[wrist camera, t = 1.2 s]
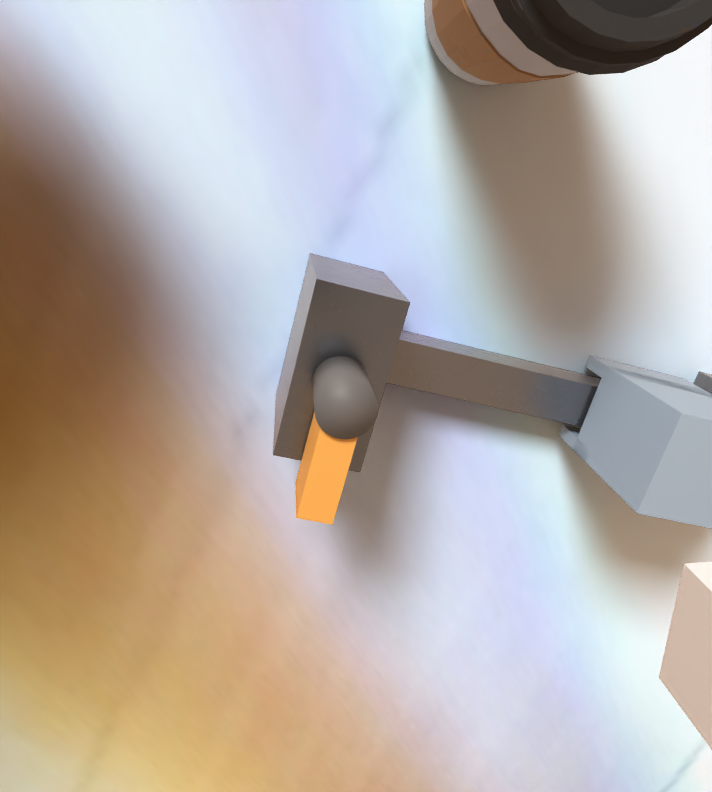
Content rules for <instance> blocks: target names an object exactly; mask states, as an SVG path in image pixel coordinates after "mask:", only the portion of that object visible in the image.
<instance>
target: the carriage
mask: <svg viewBox="0 0 712 792" xmlns="http://www.w3.org/2000/svg"><path fill="white" fill-rule="evenodd" d="M586 368H588V369H589V370H591V371H592V372H594V373H595V374H597V375H598V376H600V377H601V381H600V383H599V386H598V388H597V391H596V393H595V396H594V398H593V400H592V403H591V405H590V408H589V410H588V413H587V415H586V418H585V420H584V423H583V425H582V428H576V427H572V426H567V425H562V428H561V430H560V433H559V436H560V437H561V438H562V439H563V440H564V441H565V442H566V443H567V444H568V445H569V446H570V447H571V448H572V449H573V450H574V451H575V452H576V453H577V454H578V455H579V456H580V457H581V458H582V459H583V460H584V461H585V462H586V463H587V464H588V465H589V466H590V467H591V468H592V469H593V470H594V471H595V472H596V473H597V474H598V475H599V476H600V477H601V478H602V479H603V480H604V481H605V482H606V483H607V484H608V485H609V486H610V487H611V488H612V489H613V490H614V491H615V492H616V493H617V494H618V495H619V496H620V497H621V498H622V499H623V500H624V501H625V502H626V503H627V504H628V505H629V506H630V507H631V508H632V509H633V510H634V511H635V512H636V513H637V514H642V515H647V516H652V517H657V518H662V519H667V520H672V521H677V522H681V523H686V524H691V525H696V526H701V527H706V528H711V529H712V394H711V393H709V392H707V391H705V390H703V389H701V388H700V387H698V386H696V385H694V384H692V383H690V382H688V381H687V380H685V379H683V378H679V377H675V376H671V375H667V374H663V373H659V372H655V371H651V370H647V369H643V368H639V367H635V366H631V365H627V364H623V363H619V362H615V361H611V360H607V359H603V358H599V357H595V356H591V355H590V357H589V359H588V362H587V364H586Z"/></svg>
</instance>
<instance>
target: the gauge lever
mask: <svg viewBox="0 0 712 792" xmlns="http://www.w3.org/2000/svg"><path fill="white" fill-rule="evenodd" d="M312 393H313V402H314V415H313V419H312V422H311V426H310V430H309V434H308V438H307V441H306V445H305V449H304V453H303V457H302V460H301V464H300V468H299V472H298V476H297V480H296V518H300V519H305V520H310V521H316V522H321V523H327V524H333V521H334V518H335V514H336V511H337V507H338V504H339V500H340V497H341V493H342V490H343V486H344V483H345V480H346V476H347V473H348V469H349V466H350V462H351V459H352V455H353V452H354V448H355V445H356V441H357V438H358V437H359V436H361V435H363V434H364V433H366V432H367V431H368V430H369V429H370V428H371V427H372V426H373V424H374V422H375V420H376V418H377V414H378V404H377V400H376V397H375V395H374V392H373V389H372V387H371V384H370V381H369V379H368V376H367V373H366V371H365V369H364V368H363V366H362V365H361V364H360V363H359V362H357V361H356V360H354V359H352V358H350V357H346V356H335V357H331V358H329V359H327V360H325V361H323V362H322V363H321V364H320V365H319V366H318V367H317V368H316V370H315V372H314V374H313V377H312Z"/></svg>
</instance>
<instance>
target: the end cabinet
mask: <svg viewBox="0 0 712 792" xmlns="http://www.w3.org/2000/svg"><path fill="white" fill-rule="evenodd" d="M409 305H410V302H409V301H408V299H407V298H406V297H405V296H404V295H403V294H402V293H401V292H400V290H399V289H398V288H397V287H396V286H395V285H394V284H393V283H392V281H391V280H390V279H389V278H388V277H387V276H386V275H385V274H384V272H381V271H377V270H373V269H369V268H365V267H361V266H357V265H354V264H350V263H346V262H342V261H338V260H334V259H330V258H327V257H323V256H319V255H315V254H311V253H310V255H309V260H308V264H307V268H306V272H305V276H304V280H303V285H302V289H301V293H300V297H299V301H298V305H297V309H296V314H295V318H294V322H293V326H292V330H291V334H290V339H289V343H288V347H287V351H286V355H285V359H284V363H283V368H282V372H281V376H280V380H279V384H278V388H277V392H276V405H275V425H274V445H273V455H276V456H281V457H286V458H291V459H296V460H302V457H303V453H304V449H305V445H306V441H307V438H308V434H309V430H310V426H311V422H312V419H313V415H314V402H313V393H312V377H313V374H314V372H315V370H316V368H317V367H318V366H319V365H320V364H321V363H322V362H323V361H325V360H327V359H329V358H331V357H335V356H346V357H350V358H352V359H354V360H356V361H357V362H359V363H360V364H361V365H362V366H363V368H364V369H365V371H366V373H367V376H368V379H369V381H370V384H371V387H372V389H373V392H374V395H375V397H376V400H377V404H378V409H379V406H380V403H381V399H382V396H383V392H384V389H385V386H386V382H387V379H388V376H389V372H390V369H391V365H392V362H393V359H394V355H395V352H396V348H397V345H398V342H399V338H400V335H401V332H402V328H403V325H404V321H405V318H406V315H407V311H408V308H409ZM374 423H375V422H374ZM373 426H374V424H373ZM373 426H372V427H371V428H370V429H369V430H368V431H367V432H366V433H364V434H363V435H361V436H359V437H358V438H357V441H356V445H355V448H354V452H353V455H352V459H351V462H350V466H349V469H348V470H351V471H356V472H360V470H361V467H362V463H363V460H364V457H365V453H366V450H367V447H368V443H369V440H370V436H371V433H372V430H373Z"/></svg>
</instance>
